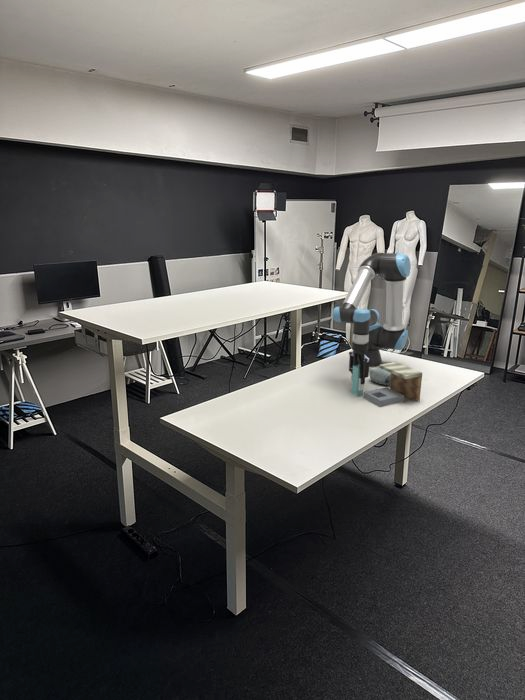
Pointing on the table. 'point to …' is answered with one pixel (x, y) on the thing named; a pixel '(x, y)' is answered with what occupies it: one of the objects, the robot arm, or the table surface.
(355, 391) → the peg
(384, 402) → the socket
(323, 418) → the table surface
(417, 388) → the wood grain block
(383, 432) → the table surface
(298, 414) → the table surface
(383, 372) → the grey yarn spool
